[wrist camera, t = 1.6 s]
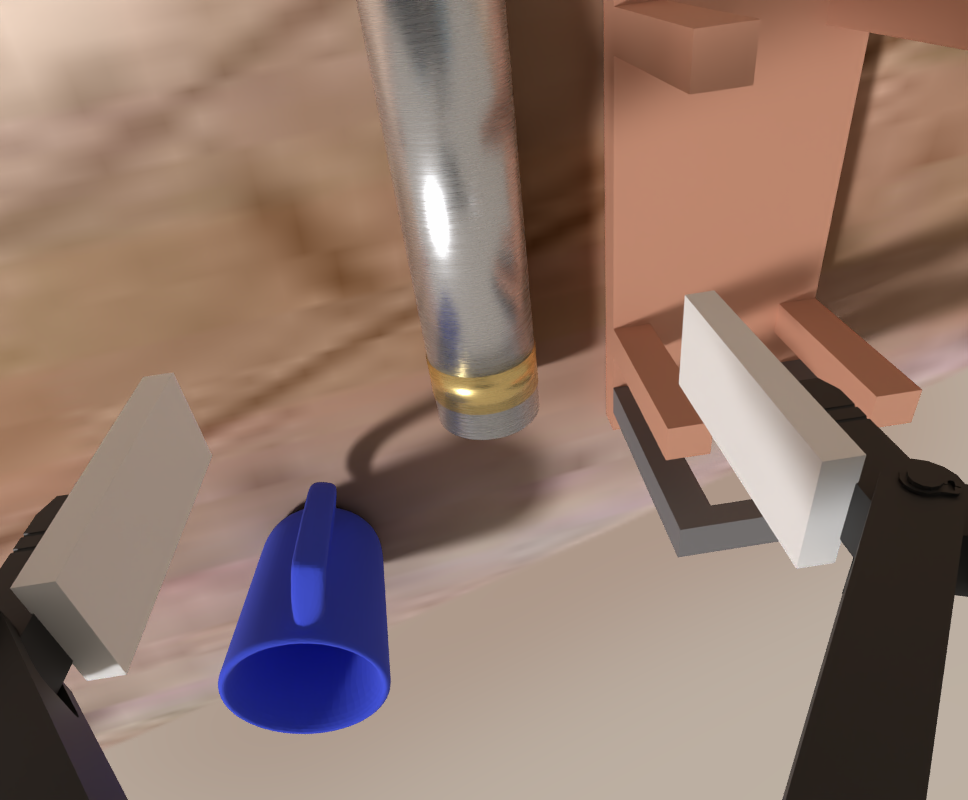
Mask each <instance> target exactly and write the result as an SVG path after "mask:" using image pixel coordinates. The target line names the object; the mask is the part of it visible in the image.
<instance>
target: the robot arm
mask: <svg viewBox="0 0 968 800" xmlns="http://www.w3.org/2000/svg"><path fill="white" fill-rule="evenodd" d="M679 385H680V387H681V388H682V390H683V392H684V393H685V395H686V396H687V398H688V399H689V401H690V403H691V404H692V406H693V407H694V409H695V410H696V412H697V414H698V415H699V417H700V418H701V420H702V421H703V423H704V424H705V426H706V428H707V429H708V431H709V432H710V434H711V435H712V437H713V439H714V440H715V442H716V443H717V445H718V446H719V448H720V450H721V451H722V453H723V454H724V456H725V457H726V459H727V461H728V462H729V464H730V465H731V467H732V468H733V470H734V472H735V473H736V475H737V476H738V478H739V479H740V481H741V482H742V484H743V486H744V487H745V488H746V490H747V492H748V493H749V495H750V497H751V498H752V500H753V501H754V503H755V504H756V506H757V508H758V509H759V511H760V512H761V514H762V515H763V517H764V519H765V520H766V522H767V523H768V525H769V526H770V528H771V530H772V531H773V533H774V534H775V536H776V537H777V539H778V541H779V542H780V544H781V545H782V547H783V548H784V550H785V551H786V553H787V555H788V556H789V558H790V559H791V561H792V562H793V564H794V566H795V567H796V569H798V568H804V567H810V566H816V565H823V564H829V563H835V560H836V557H837V554H838V550H839V547H840V544H841V541H842V543H843V544H844V545H845V547H846V548H847V549H848V551H849V552H850V553H851V555H852V556H853V561H852V564H851V567H850V570H849V573H848V577H847V580H846V583H845V586H844V589H843V592H842V598H841V601H840V604H839V608H838V611H837V615H836V618H835V622H834V625H833V629H832V632H831V635H830V639H829V642H828V645H827V649H826V652H825V656H824V659H823V663H822V666H821V669H820V673H819V676H818V680H817V683H816V686H815V690H814V694H813V697H812V700H811V704H810V707H809V711H808V714H807V717H806V721H805V724H804V728H803V731H802V734H801V738H800V741H799V745H798V748H797V751H796V755H795V759H794V762H793V765H792V769H791V772H790V776H789V779H788V782H787V786H786V789H785V792H784V796H783V799H782V800H926V796H927V789H928V782H929V775H930V768H931V761H932V753H933V746H934V739H935V732H936V724H937V717H938V710H939V703H940V695H941V689H942V681H943V674H944V667H945V660H946V653H947V645H948V638H949V630H950V624H951V617H952V609H953V602H954V595H958V596H967V597H968V485H967V484H964V482H963V481H962V480H961V479H960V478H959V477H958V476H957V475H956V474H954V473H953V472H951V471H950V470H948V469H946V468H945V467H943V466H940V465H937V464H934V463H931V462H929V461H924V460H917V459H910V458H909V457H908V456H907V455H906V454H905V453H904V452H903V451H902V450H901V449H900V448H899V447H898V446H897V445H895V443H894V442H893V441H892V440H891V439H890V438H889V437H887V435H885V433H883V431H882V430H881V429H880V428H879V427H878V426H877V425H876V424H875V423H874V422H873V421H872V420H871V419H867V415H866V414H865V413H864V412H863V411H862V410H861V409H860V408H859V407H855V404H854V403H853V402H852V401H851V400H850V399H849V398H848V397H847V396H846V395H845V394H844V393H843V392H842V391H841V390H840V389H839V388H837V387H835V386H833V385H831V384H829V383H827V382H825V381H823V380H821V379H820V378H813V379H806V380H800V381H798V380H797V379H796V378H795V377H794V376H793V375H792V374H791V373H790V372H789V371H788V370H787V368H786V367H785V366H784V365H783V364H782V363H781V362H780V361H779V360H778V359H777V358H776V357H775V355H774V354H773V353H772V352H771V351H770V350H769V349H768V348H767V347H766V346H765V345H764V344H763V342H762V341H761V340H760V339H759V338H758V337H757V336H756V335H755V334H754V333H753V332H752V331H751V330H750V328H749V327H748V326H747V325H746V324H745V323H744V322H743V321H742V320H741V319H740V318H739V317H738V315H737V314H736V313H735V312H734V311H733V310H732V309H731V308H730V307H729V306H728V305H727V304H726V302H725V301H724V300H723V299H722V298H721V297H720V296H719V295H718V294H717V293H716V292H715V291H707V292H700V293H694V294H687V295H685V300H684V315H683V329H682V344H681V359H680V373H679ZM211 458H212V454H211V452H210V450H209V448H208V445H207V443H206V441H205V439H204V437H203V435H202V433H201V430H200V428H199V426H198V424H197V422H196V420H195V418H194V416H193V413H192V411H191V409H190V407H189V405H188V403H187V401H186V398H185V396H184V394H183V392H182V390H181V388H180V386H179V384H178V381H177V379H176V377H175V375H174V373H166V374H160V375H153V376H147V377H143V378H142V380H141V381H140V383H139V384H138V386H137V388H136V389H135V391H134V392H133V394H132V395H131V397H130V399H129V400H128V402H127V403H126V405H125V407H124V408H123V410H122V411H121V413H120V415H119V416H118V418H117V419H116V421H115V422H114V424H113V426H112V427H111V429H110V430H109V432H108V434H107V435H106V437H105V438H104V440H103V441H102V443H101V445H100V446H99V448H98V449H97V451H96V453H95V454H94V456H93V457H92V459H91V461H90V462H89V464H88V465H87V467H86V468H85V470H84V472H83V473H82V475H81V476H80V478H79V480H78V481H77V483H76V484H75V486H74V488H73V489H72V491H71V492H70V494H69V495H63V496H57V497H56V498H55V499H53V500H52V501H51V502H50V503H49V504H48V505H47V506H46V507H44V508H43V509H42V510H41V511H40V512H39V513H38V514H36V516H35V517H34V519H33V520H32V522H31V523H30V525H29V526H28V528H27V529H26V531H25V532H24V537H22V538H20V540H19V541H18V543H17V544H16V546H15V547H14V549H13V551H14V552H13V553H10V555H9V556H8V558H7V559H6V561H5V562H4V564H3V565H2V567H1V568H0V800H128V799H127V797H126V795H125V794H124V791H123V790H122V788H121V786H120V784H119V782H118V780H117V778H116V776H115V774H114V772H113V770H112V769H111V766H110V765H109V763H108V761H107V759H106V757H105V755H104V753H103V751H102V749H101V747H100V745H99V743H98V742H97V740H96V738H95V736H94V734H93V732H92V730H91V728H90V726H89V724H88V722H87V720H86V718H85V717H84V715H83V713H82V711H81V709H80V707H79V705H78V703H77V701H76V699H75V697H74V695H73V694H72V692H71V690H70V689H69V688H68V687H67V686H66V685H65V684H64V679H65V677H66V675H67V673H68V671H69V669H70V667H71V665H72V663H73V665H74V666H75V667H76V668H77V669H78V671H79V672H80V673H81V674H82V675H83V677H84V678H85V679H86V680H87V681H90V680H96V679H102V678H109V677H115V676H121V675H127V673H128V670H129V668H130V665H131V662H132V660H133V657H134V655H135V652H136V650H137V647H138V645H139V642H140V639H141V637H142V634H143V632H144V629H145V627H146V624H147V622H148V619H149V616H150V614H151V611H152V609H153V606H154V604H155V601H156V599H157V596H158V593H159V591H160V588H161V586H162V583H163V581H164V578H165V576H166V573H167V570H168V568H169V565H170V563H171V560H172V558H173V555H174V553H175V550H176V547H177V545H178V542H179V540H180V537H181V535H182V532H183V530H184V527H185V524H186V522H187V519H188V517H189V514H190V512H191V509H192V507H193V504H194V501H195V499H196V496H197V494H198V491H199V489H200V486H201V484H202V481H203V478H204V476H205V473H206V471H207V468H208V466H209V463H210V461H211Z"/></svg>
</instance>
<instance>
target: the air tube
mask: <svg viewBox="0 0 968 800" xmlns="http://www.w3.org/2000/svg"><path fill="white" fill-rule="evenodd" d="M356 1H357V6H358V11H359V16H360V21H361V26H362V31H363V36H364V41H365V46H366V51H367V56H368V61H369V66H370V71H371V76H372V81H373V86H374V91H375V96H376V101H377V106H378V112H379V117H380V122H381V127H382V132H383V137H384V142H385V147H386V152H387V157H388V162H389V167H390V172H391V177H392V182H393V187H394V192H395V197H396V202H397V207H398V212H399V217H400V222H401V227H402V232H403V237H404V242H405V247H406V252H407V257H408V263H409V268H410V273H411V278H412V283H413V288H414V293H415V298H416V303H417V308H418V313H419V318H420V323H421V328H422V333H423V338H424V343H425V348H426V359H427V364H428V369H429V374H430V379H431V384H432V389H433V393H434V397H435V399H436V403H437V408H438V414H439V418H440V421H441V423H442V425H443V426H444V427H445V428H446V429H447V430H448V431H449V432H451V433H452V434H455V435H457V436H459V437H463V438H467V439H473V440H490V439H497V438H502V437H505V436H509V435H511V434H514V433H516V432H518V431H520V430H522V429H523V428H525V427H526V426H527V425H529V424H530V423H531V422H532V421H533V419H534V418H535V417H536V415H537V413H538V410H539V396H538V372H537V359H536V347H535V340H534V337H533V325H532V313H531V301H530V289H529V277H528V265H527V253H526V242H525V230H524V218H523V206H522V194H521V182H520V170H519V158H518V147H517V135H516V123H515V111H514V99H513V87H512V75H511V63H510V52H509V40H508V28H507V16H506V4H505V0H356Z"/></svg>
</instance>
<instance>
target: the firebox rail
mask: <svg viewBox="0 0 968 800" xmlns="http://www.w3.org/2000/svg"><path fill="white" fill-rule="evenodd" d="M603 4H604V154H605V304H606V414H607V417H608V419H609V421H610V424H611V426H612V428H613V430H616V429H621V431H622V433H623V435H624V438H625V440H626V442H627V444H628V447H629V449H630V451H631V453H632V455H633V458H634V460H635V462H636V464H637V467H638V469H639V471H640V473H641V476H642V478H643V480H644V482H645V485H646V487H647V489H648V491H649V494H650V496H651V498H652V500H653V503H654V505H655V507H656V509H657V511H658V514H659V516H660V518H661V520H662V522H663V525H664V527H665V529H666V532H667V534H668V536H669V538H670V540H671V543H672V545H673V547H674V549H675V552H676V554H677V556H678V557H682V556H689V555H695V554H701V553H708V552H714V551H720V550H726V549H733V548H740V547H746V546H752V545H759V544H765V543H771V542H778V539H777V537H776V536H775V534H774V533H773V531H772V530H771V528H770V526H769V525H768V523H767V522H766V520H765V519H764V517H763V515H762V514H761V512H760V511H759V509H758V508H757V506H756V504H755V503H754V501H753V500H752V499H751V500H744V501H739V502H732V503H725V504H718V505H712V506H711V505H710V504H709V502H708V500H707V498H706V496H705V494H704V492H703V491H702V489H701V487H700V485H699V483H698V482H697V480H696V478H695V476H694V474H693V472H692V471H691V469H690V467H689V465H688V463H687V461H686V460H685V458H684V457H691V456H697V455H704V454H710V451H711V443H712V435H711V434H710V432H709V431H708V429H707V428H706V426H705V424H704V423H703V421H702V420H701V418H700V417H699V415H698V414H697V412H696V410H695V409H694V407H693V406H692V404H691V403H690V401H689V399H688V398H687V396H686V395H685V393H684V392H683V390H682V388H681V387H680V385H679V373H680V359H681V344H682V329H683V315H684V300H685V295H687V294H694V293H700V292H707V291H715V292H716V293H717V294H718V295H719V296H720V297H721V298H722V299H723V300H724V301H725V302H726V304H727V305H728V306H729V307H730V308H731V309H732V310H733V311H734V312H735V313H736V314H737V315H738V317H739V318H740V319H741V320H742V321H743V322H744V323H745V324H746V325H747V326H748V327H749V328H750V330H751V331H752V332H753V333H754V334H755V335H756V336H757V337H758V338H759V339H760V340H761V341H762V342H763V344H764V345H765V346H766V347H767V348H768V349H769V350H770V351H771V352H772V353H773V354H774V355H775V357H776V358H777V359H778V360H779V361H780V362H781V363H782V364H783V365H784V366H785V367H786V368H787V370H788V371H789V372H790V373H791V374H792V375H793V376H794V377H795V378H796V379H797V380H798V381H800V380H806V379H813V378H820V379H821V380H823V381H825V382H827V383H829V384H831V385H833V386H835V387H837V388H839V389H840V390H841V391H842V392H843V393H844V394H845V395H846V396H847V397H848V398H849V399H850V400H851V401H852V402H853V403H854V404H855V407H859V408H860V409H861V410H862V411H863V412H864V413H865V414H866V415H867V419H871V420H872V421H873V422H874V423H875V424H876V425H877V426H878V427H884V426H891V425H897V424H904V423H910V422H911V421H912V418H913V415H914V412H915V410H916V407H917V404H918V401H919V398H920V395H921V392H922V389H921V388H920V387H918V386H917V385H916V384H915V383H914V382H913V381H911V380H910V379H909V378H908V377H907V376H906V375H904V374H903V373H902V372H901V371H900V370H899V369H897V368H896V367H895V366H894V365H893V364H892V363H890V362H889V361H888V360H887V359H886V358H885V357H883V356H882V355H881V354H880V353H879V352H877V351H876V350H875V349H874V348H873V347H872V346H870V345H869V344H868V343H867V342H866V341H865V340H863V339H862V338H861V337H860V336H859V335H858V334H856V333H855V332H854V331H853V330H852V329H851V328H849V327H848V326H847V325H846V324H845V323H844V322H842V321H841V320H840V319H839V318H838V317H837V316H835V315H834V314H833V313H832V312H831V311H830V310H828V309H827V308H826V307H825V306H824V305H823V304H821V303H820V302H819V301H818V300H817V299H816V298H815V297H816V292H817V287H818V282H819V277H820V273H821V268H822V263H823V258H824V253H825V248H826V243H827V238H828V233H829V228H830V223H831V219H832V214H833V209H834V204H835V199H836V194H837V189H838V184H839V179H840V174H841V170H842V165H843V160H844V155H845V150H846V145H847V140H848V135H849V130H850V125H851V120H852V116H853V111H854V106H855V101H856V96H857V91H858V86H859V81H860V76H861V71H862V66H863V62H864V57H865V52H866V47H867V42H868V37H869V32H870V33H875V34H881V35H886V36H892V37H897V38H903V39H908V40H914V41H919V42H925V43H930V44H936V45H941V46H947V47H952V48H958V49H963V50H968V0H603Z"/></svg>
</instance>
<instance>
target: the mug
mask: <svg viewBox="0 0 968 800" xmlns="http://www.w3.org/2000/svg"><path fill="white" fill-rule="evenodd" d="M336 493H337V492H336V486H335V485H334V484H332V483H326V482H317V483H314V484H313V485H311V487H310V489H309V492H308V495H307V499H306V502H305V506H304V509H303V510H300V511H298V512H295V513H293V514H291V515H289V516H288V517H286V518H285V519H283V520H282V521H281V522H280V523H279V524H278V525H277V526H276V527H275V528H274V529H273V531H272V532H271V534H270V535H269V537H268V539H267V541H266V543H265V545H264V548H263V551H262V554H261V557H260V559H259V562H258V565H257V568H256V571H255V574H254V577H253V580H252V583H251V585H250V588H249V591H248V594H247V597H246V600H245V603H244V606H243V609H242V611H241V614H240V617H239V620H238V623H237V626H236V629H235V632H234V635H233V637H232V640H231V643H230V646H229V649H228V652H227V655H226V658H225V661H224V663H223V666H222V669H221V672H220V675H219V681H218V689H219V694H220V696H221V699H222V700H223V702H224V704H225V705H226V706H227V707H228V709H229V710H231V711H232V712H233V713H234V714H235V715H236V716H238V717H239V718H241V719H243V720H245V721H246V722H248V723H250V724H253V725H256V726H258V727H261V728H264V729H268V730H272V731H277V732H283V733H293V734H294V733H295V734H313V733H323V732H329V731H335V730H339V729H342V728H345V727H349V726H351V725H354V724H356V723H358V722H361V721H363V720H364V719H366V718H367V717H369V716H371V715H372V714H373V713H374V712H376V711H377V710H378V709H379V708H380V707H381V705H382V704H383V703H384V702H385V700H386V698H387V696H388V694H389V690H390V665H389V648H388V631H387V615H386V599H385V582H384V566H383V554H382V548H381V544H380V541H379V538H378V536H377V534H376V532H375V531H374V529H373V528H372V527H371V526H370V524H369V523H368V522H366V521H365V520H364V519H363V518H361V517H360V516H358V515H356V514H354V513H352V512H350V511H347V510H343V509H339V508H336Z"/></svg>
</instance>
